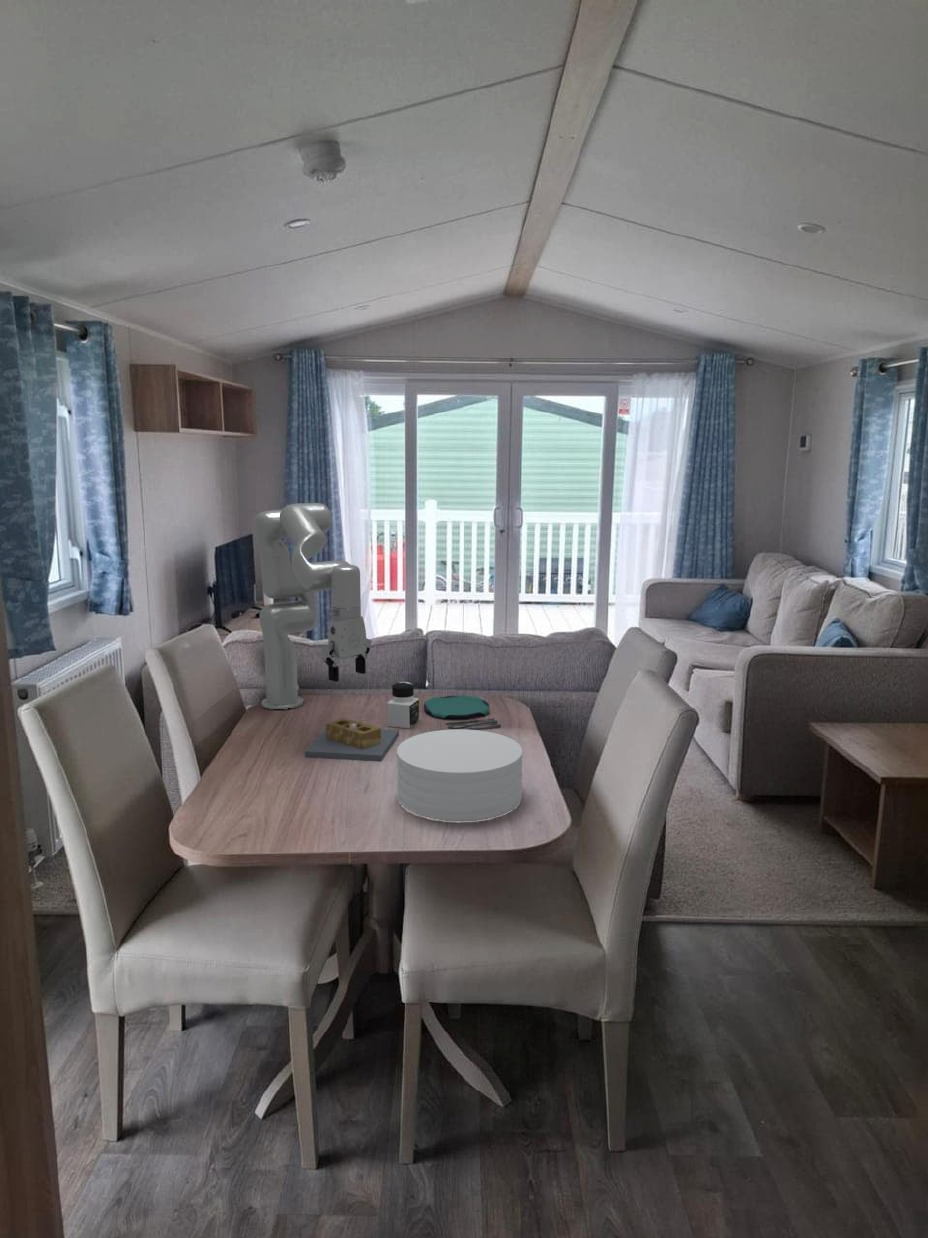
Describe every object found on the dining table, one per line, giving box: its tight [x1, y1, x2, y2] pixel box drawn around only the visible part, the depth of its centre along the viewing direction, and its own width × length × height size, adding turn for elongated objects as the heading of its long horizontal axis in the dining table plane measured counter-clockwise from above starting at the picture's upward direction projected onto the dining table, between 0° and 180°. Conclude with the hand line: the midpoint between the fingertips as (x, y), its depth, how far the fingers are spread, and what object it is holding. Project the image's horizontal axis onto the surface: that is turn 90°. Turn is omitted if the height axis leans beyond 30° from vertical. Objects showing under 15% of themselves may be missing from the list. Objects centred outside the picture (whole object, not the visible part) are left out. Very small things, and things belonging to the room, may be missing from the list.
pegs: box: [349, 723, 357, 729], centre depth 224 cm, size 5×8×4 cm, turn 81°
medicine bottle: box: [386, 681, 420, 729], centre depth 241 cm, size 7×7×12 cm
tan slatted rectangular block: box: [325, 717, 382, 749], centre depth 224 cm, size 14×6×4 cm, turn 52°
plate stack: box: [396, 728, 523, 821], centre depth 190 cm, size 28×28×12 cm
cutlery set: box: [423, 694, 502, 731], centre depth 251 cm, size 20×30×2 cm, turn 15°
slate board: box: [304, 728, 400, 762], centre depth 224 cm, size 20×20×2 cm
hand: (347, 676), depth 222 cm, fingers open, 9 cm apart
